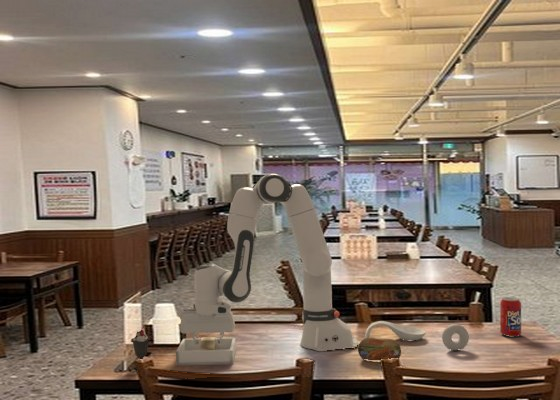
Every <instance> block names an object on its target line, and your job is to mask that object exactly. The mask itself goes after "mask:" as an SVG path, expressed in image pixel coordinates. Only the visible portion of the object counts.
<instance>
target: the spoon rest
mask: <svg viewBox="0 0 560 400" xmlns="http://www.w3.org/2000/svg"><path fill="white" fill-rule="evenodd" d="M379 326H383V327H387V328H388V329H389V330H391V331H392V332H393V333H394V334H395V335H396V336H397V337H398V338H399V339H400V340H402V339H404V340H416V341H419V340H422V338H423V337H425V335H426V331H425V330H424V329H421V328H418V327H414V326H407V325H402V324H396V323H393V322H389V321H386V320H379V321H375V322H372V323H371V324H369V325H368V327H367V328H366V330H365V335H364V339H366V338H370V333H371V331H372V329H374V328H375V327H379ZM404 340H403V341H404Z"/></svg>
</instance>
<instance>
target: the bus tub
mask: <svg viewBox="0 0 560 400" xmlns="http://www.w3.org/2000/svg"><path fill="white" fill-rule="evenodd" d="M215 338H216V350H201V339H202V337H201V338H200V337H199V338H197V339H199V345H195V344H194V340H193V339H186V338H182V340H181V342H180V344H179V346H178V347H177V349H176V350H175V361H176V362H175V363H176V365H175V366H176V367H177V366H179V367H181V366H211V365H212V366H215V365H217V366H219V365H222V366H223V365H234V360H235V356H236V353H237V352H236V351H237V345H236V343H237V340H236V337H223V338H222V343H221V344H217V339H218V338H219V337H215Z"/></svg>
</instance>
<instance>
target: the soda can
mask: <svg viewBox="0 0 560 400" xmlns="http://www.w3.org/2000/svg"><path fill="white" fill-rule="evenodd" d="M499 306H500V307H499V310H500V311H499V314H500V319H499V321H500V323H499V324H500V325H499V328H500V334H501V333H502V334H501V335H503V334H505V335H509V336H518V335H520V336H521V335H522V302H521V301H520V298H519V297H514V296H503V297H502V298H501V301H500V302H499ZM518 337H519V336H518Z"/></svg>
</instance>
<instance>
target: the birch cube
mask: <svg viewBox="0 0 560 400" xmlns="http://www.w3.org/2000/svg"><path fill="white" fill-rule="evenodd" d="M201 338H202V339H201V350H216V338H217V337H216V336H202V337H201Z"/></svg>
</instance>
